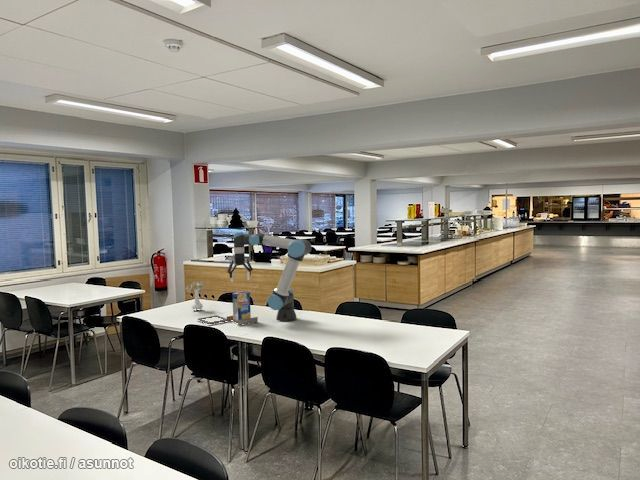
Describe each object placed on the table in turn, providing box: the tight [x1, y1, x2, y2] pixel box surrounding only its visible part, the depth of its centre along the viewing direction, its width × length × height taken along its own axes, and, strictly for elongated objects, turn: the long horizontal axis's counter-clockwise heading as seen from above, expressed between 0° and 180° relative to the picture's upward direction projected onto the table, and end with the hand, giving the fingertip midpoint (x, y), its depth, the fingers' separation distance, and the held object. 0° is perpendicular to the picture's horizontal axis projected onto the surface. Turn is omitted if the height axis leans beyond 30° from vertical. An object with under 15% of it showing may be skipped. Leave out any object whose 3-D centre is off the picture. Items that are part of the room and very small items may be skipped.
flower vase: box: [184, 280, 206, 310], centre depth 394 cm, size 13×18×25 cm
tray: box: [197, 314, 228, 324], centre depth 351 cm, size 20×16×2 cm
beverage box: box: [231, 291, 252, 324], centre depth 345 cm, size 7×11×22 cm, turn 133°
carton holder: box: [226, 315, 259, 326], centre depth 346 cm, size 18×16×4 cm
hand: (240, 281), depth 348 cm, fingers open, 13 cm apart
